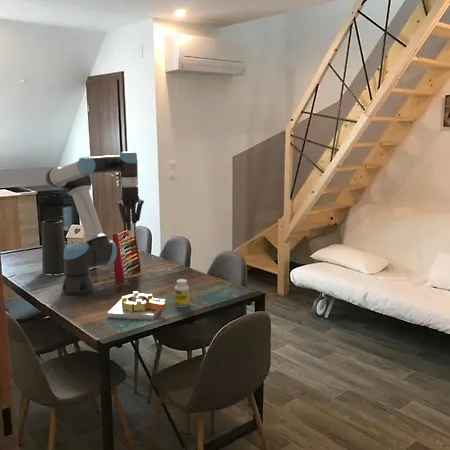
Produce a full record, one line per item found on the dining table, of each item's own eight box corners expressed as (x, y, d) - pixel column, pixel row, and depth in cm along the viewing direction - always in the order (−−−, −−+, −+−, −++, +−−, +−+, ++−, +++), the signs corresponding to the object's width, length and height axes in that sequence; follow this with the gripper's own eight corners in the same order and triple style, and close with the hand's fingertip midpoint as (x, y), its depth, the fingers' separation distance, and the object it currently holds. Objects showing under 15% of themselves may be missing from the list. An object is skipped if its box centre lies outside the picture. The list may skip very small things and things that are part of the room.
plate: (107, 317, 218) (107, 303, 217) (123, 301, 238) (123, 288, 237) (154, 319, 215) (154, 306, 214) (166, 303, 235) (166, 290, 234)
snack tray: (115, 307, 224) (115, 298, 223) (134, 298, 235) (134, 289, 234) (154, 315, 214) (154, 306, 213) (172, 305, 225) (172, 296, 225)
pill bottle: (172, 306, 231) (171, 281, 229) (178, 301, 237) (178, 277, 235) (185, 308, 229) (185, 283, 226) (191, 303, 235) (191, 279, 232)
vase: (73, 271, 286) (70, 220, 280) (53, 277, 275) (50, 224, 269) (57, 267, 293) (53, 218, 287) (37, 273, 282) (33, 221, 276)
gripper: (120, 188, 226) (122, 240, 231) (146, 185, 234) (148, 236, 238) (112, 186, 232) (115, 237, 237) (138, 184, 240) (140, 233, 244)
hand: (131, 236), depth 237 cm, fingers closed
